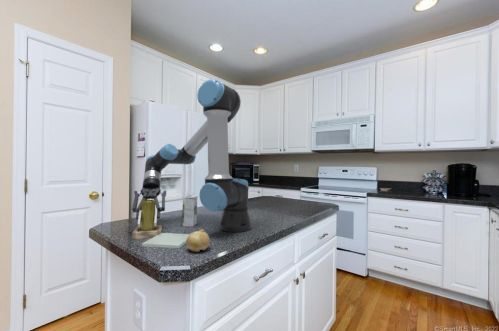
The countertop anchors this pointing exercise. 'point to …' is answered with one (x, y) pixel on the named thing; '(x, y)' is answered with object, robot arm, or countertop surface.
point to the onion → (198, 241)
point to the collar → (146, 233)
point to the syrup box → (189, 211)
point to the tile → (167, 240)
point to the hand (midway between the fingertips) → (147, 225)
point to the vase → (148, 215)
